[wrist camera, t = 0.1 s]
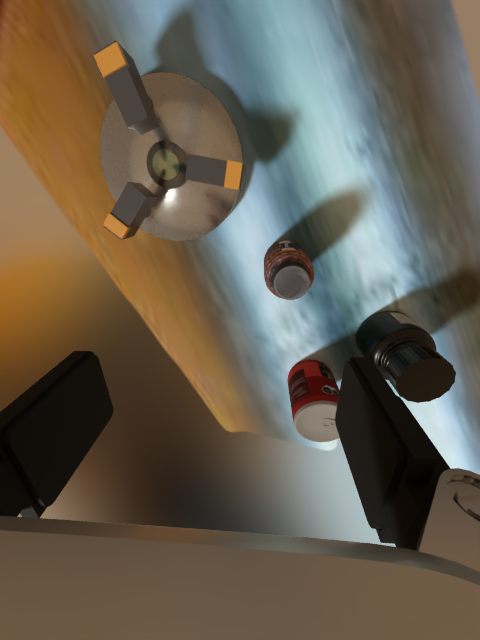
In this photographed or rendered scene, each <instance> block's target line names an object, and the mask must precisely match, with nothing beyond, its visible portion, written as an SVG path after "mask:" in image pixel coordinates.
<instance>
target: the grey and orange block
mask: <svg viewBox="0 0 480 640" xmlns="http://www.w3.org/2000/svg"><path fill="white" fill-rule="evenodd" d="M157 198H158V197H157V196H156V195H154V194H153V193H152V192H151V191H150V190H149V189H147V188H146V187H145V186H144V185H143V184H141V183H135V182H127V184H126V186H125V188H124V190H123V192H122V193H121V195H120V197H119V199H118V201H117V202H116V204H115V206H114V208H113V210H112V212H111V213H109V215H108V216H107V218H106V220H105V222H104V224H103V225H104V227H105V228H106V229H108V230H109V231H110V232H112V233H113V234H114V235H116V236H117V237H118V238H119V239H121V240H122V239H126V238H129V237H132V236H134V235H135V234H136V232H137V230H138V229H139V227H140V225H141V224H142V222H143V220H144V219H145V218H147V217H149V216H150V214H151V207H152V206H153V204H154V202H155V201H156V199H157Z"/></svg>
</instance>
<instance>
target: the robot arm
mask: <svg viewBox="0 0 480 640" xmlns="http://www.w3.org/2000/svg"><path fill="white" fill-rule="evenodd" d="M112 414H113V406H112V402H111V399H110V395H109V392H108V389H107V386H106V382H105V379H104V375H103V372H102V369H101V365H100V362H99V359H98V357H97V356H96V355H94V353H93V352H91V351H74V352H72V353H71V354H70V355H69V356H68V357H66V358H65V359H64V360H63V361H62V362H60V363H59V364H58V365H57V366H55V367H54V368H53V369H52V370H51V371H49V372H48V373H47V374H46V375H45V376H43V377H42V378H41V379H40V380H39V381H38V382H36V383H35V384H34V385H32V386H31V387H30V388H29V389H28V390H27V391H25V392H24V393H23V394H22V395H20V396H19V397H18V398H17V399H16V400H14V401H13V402H12V403H11V404H9V405H8V406H7V407H6V408H5V409H3V410H2V411H1V412H0V640H480V475H478V474H476V473H473V472H471V471H468V470H463V469H459V468H458V469H450V467H449V466H448V465H447V463H446V462H445V460H444V459H443V457H442V456H441V455H440V453H439V452H438V450H437V449H436V447H435V446H434V445H433V443H432V442H431V440H430V439H429V438H428V436H427V435H426V433H425V432H424V430H423V429H422V428H421V426H420V425H419V423H418V422H417V420H416V419H415V418H414V416H413V415H412V413H411V412H410V411H409V409H408V408H407V406H406V405H405V403H404V402H403V401H402V399H401V398H400V397H398V396H396V395H395V393H394V392H393V390H392V389H391V388H390V386H389V385H388V383H387V382H386V380H385V379H384V377H383V376H382V374H381V373H380V372H379V370H378V369H377V367H376V366H375V364H374V363H373V361H372V360H371V359H370V358H369V357H352V358H351V359H350V361H346V362H345V366H344V371H343V377H342V382H341V387H340V393H339V398H338V404H337V409H336V415H335V424H336V428H337V431H338V434H339V437H340V440H341V443H342V445H343V449H344V452H345V454H346V458H347V461H348V464H349V467H350V470H351V473H352V476H353V479H354V482H355V485H356V488H357V491H358V494H359V497H360V500H361V503H362V506H363V509H364V512H365V515H366V518H367V521H368V523H369V525H370V527H371V528H374V529H376V530H377V533H378V536H379V539H380V542H381V543H394V544H395V545H396V547H391V546H384V545H377V544H370V543H359V542H349V541H339V540H328V539H317V538H307V537H295V536H282V535H268V534H255V533H242V532H229V531H216V530H202V529H189V528H175V527H161V526H146V525H131V524H117V523H103V522H88V521H72V520H57V519H42V518H40V517H41V515H42V514H43V512H44V511H45V509H46V508H47V507H48V506H50V505H51V504H53V502H54V501H55V500H56V498H57V497H58V495H59V494H60V493H61V491H62V490H63V488H64V487H65V485H66V484H67V482H68V481H69V479H70V478H71V476H72V475H73V473H74V472H75V470H76V469H77V467H78V466H79V464H80V463H81V461H82V460H83V458H84V457H85V456H86V454H87V453H88V451H89V450H90V448H91V447H92V445H93V444H94V442H95V441H96V439H97V438H98V436H99V435H100V433H101V432H102V430H103V429H104V427H105V426H106V425H107V423H108V422H109V420H110V419H111V417H112ZM19 513H20V514H21V515H22V517H17V516H18V515H19Z"/></svg>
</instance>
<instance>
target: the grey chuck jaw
mask: <svg viewBox="0 0 480 640" xmlns="http://www.w3.org/2000/svg"><path fill="white" fill-rule="evenodd" d="M94 54H95V55H94V57H95V60H96V62H97V64H98V66H99V69H100V71H101V73H102V75H103V77H104V78H105V79H106V81H107V83H108V86H109V88H110V90H111V92H112V95H113V97H114V99H115V101H116V103H117V106H118V108H119V110H120V112H121V115H122V117H123V119H124V121H125V124H126V126H127V128H129V129H131V130H133V131H134V132H136V133H138V134H140V135H143V134H145V133H147V132H149V131H151V130H153V129H155V128H157V127H159V126H160V124H159V122H158V119H157V117H156V114H155V112H154V110H153V107H154V105H153V101H152V99H151V98H150V96H149V95H147V92H146V90H145V87H144V85H143V82H142V80H141V77H140V75H139V72H138V70H137V68H136V65H135V63H134V60H133V58H132V57H131V56H130V55H129V54H128V53H127V52H126V51H125V50H124V49H123V48H122V46H121V45H120V44H119V43H118V42H117V41H114V42H112V43H111V44H109V45H107V46H106V47H104V48H103V49H101V50H99V51H98V52H96V53H94Z"/></svg>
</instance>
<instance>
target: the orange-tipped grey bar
mask: <svg viewBox="0 0 480 640" xmlns="http://www.w3.org/2000/svg"><path fill="white" fill-rule="evenodd" d="M245 172H246V166H245V164H243V163H239V162H234V161H229V160H227V161H225V160H220V159H215V158H209V157H204V156H199V155H194V154H188V153H187V168H186V180H190V181H195V182H200V183H205V184H211V185H216V186H221V187H225V188H231V189H236V190H242V191H243V185H244V179H245Z"/></svg>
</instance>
